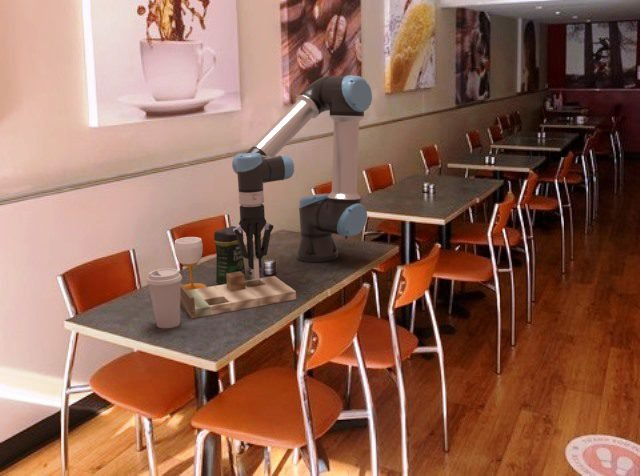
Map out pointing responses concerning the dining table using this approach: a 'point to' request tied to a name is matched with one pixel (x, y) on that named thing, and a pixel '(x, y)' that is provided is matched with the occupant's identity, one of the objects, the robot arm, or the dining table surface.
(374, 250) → the dining table surface
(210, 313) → the trap board
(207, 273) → the dining table surface
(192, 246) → the cup
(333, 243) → the robot arm
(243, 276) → the walnut block
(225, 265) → the coffee jar
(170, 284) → the coffee cup
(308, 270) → the dining table surface
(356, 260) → the dining table surface
